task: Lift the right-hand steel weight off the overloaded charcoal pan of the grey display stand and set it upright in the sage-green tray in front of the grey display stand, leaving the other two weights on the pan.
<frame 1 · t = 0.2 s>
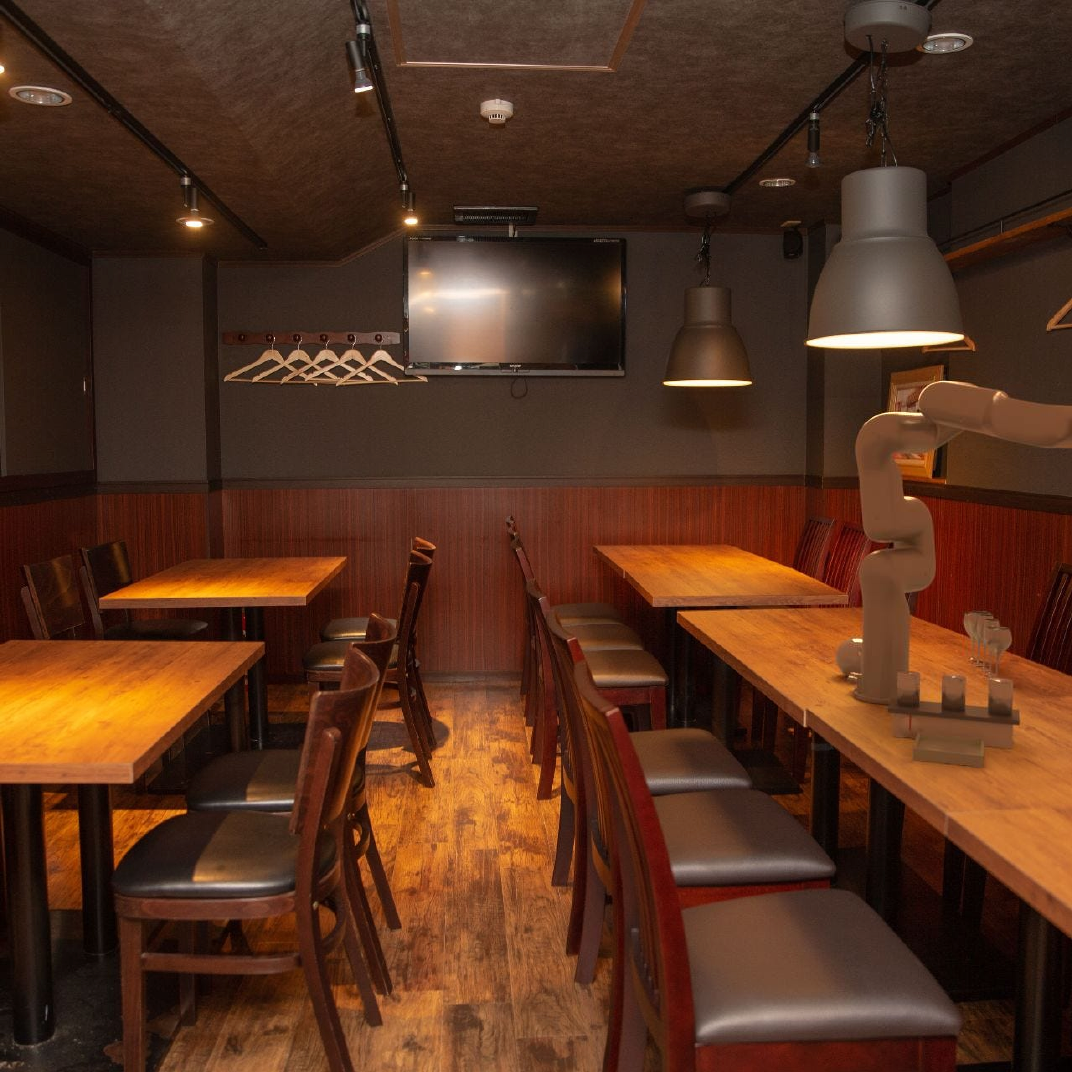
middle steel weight: (953, 709, 192), point 5 cm above the table, touching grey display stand
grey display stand: (952, 737, 193), on the table
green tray: (948, 755, 181), on the table
left steel weight: (907, 704, 195), point 5 cm above the table, touching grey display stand
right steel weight: (999, 713, 189), point 5 cm above the table, touching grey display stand
goblet set: (984, 671, 252), on the table
potion bottle: (868, 678, 244), on the table
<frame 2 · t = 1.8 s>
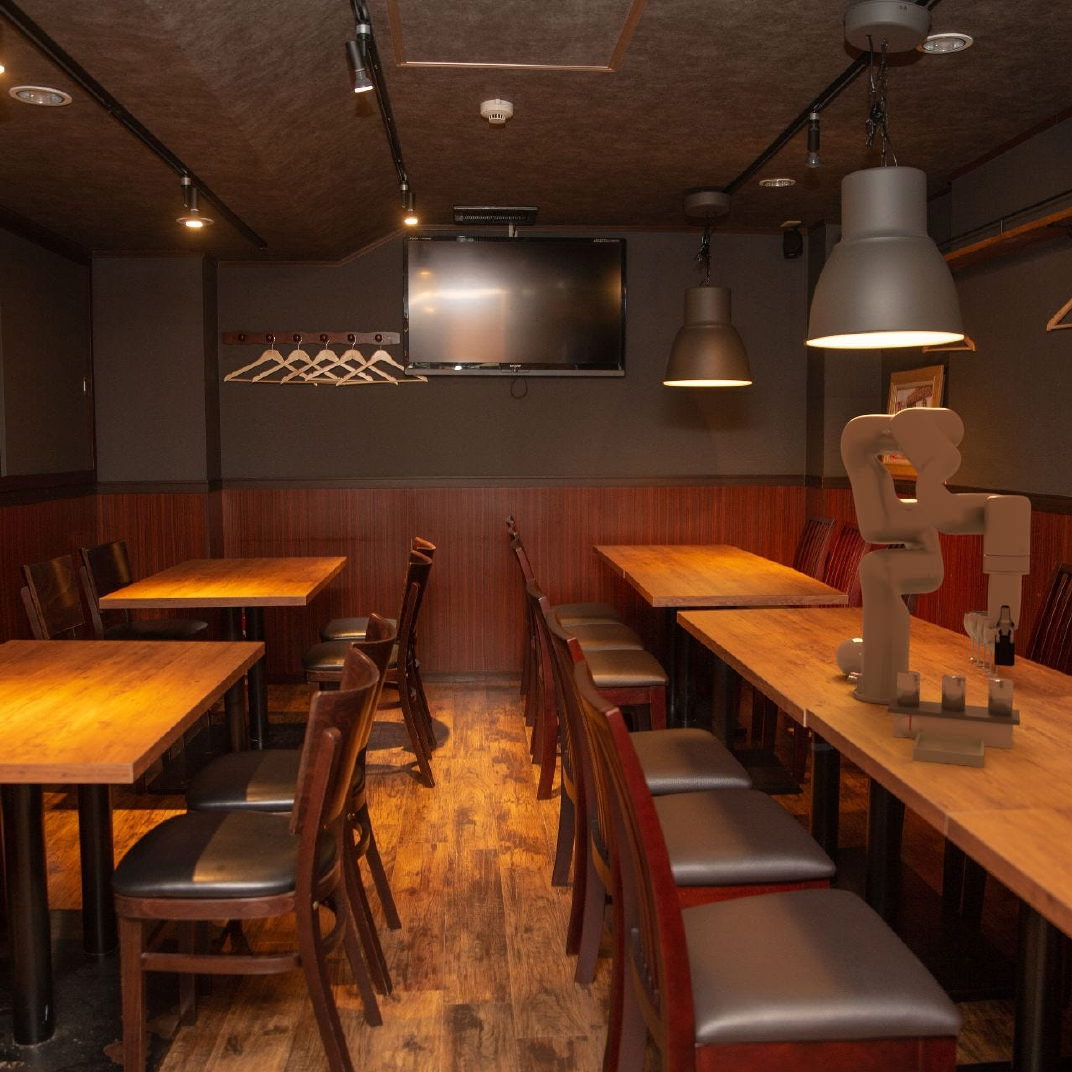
hand: (1004, 660, 188), 15 cm above the table, tool pointing down, fingers open, 9 cm apart
nothing on the table moved.
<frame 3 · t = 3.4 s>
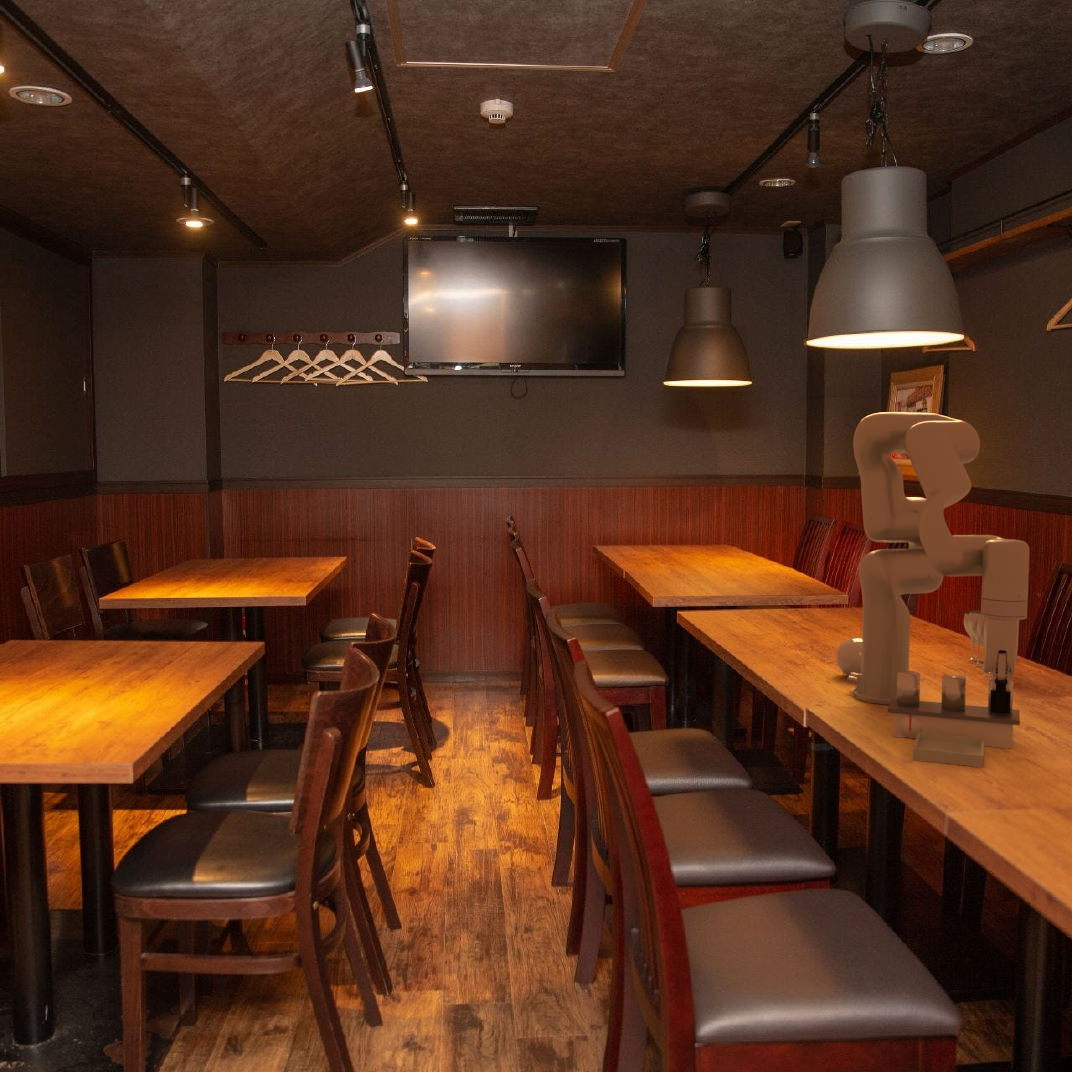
hand: (1000, 709, 189), 6 cm above the table, tool pointing down, fingers closed on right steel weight, 4 cm apart
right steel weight: (999, 713, 189), point 5 cm above the table, touching gripper, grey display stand
everything else where it was.
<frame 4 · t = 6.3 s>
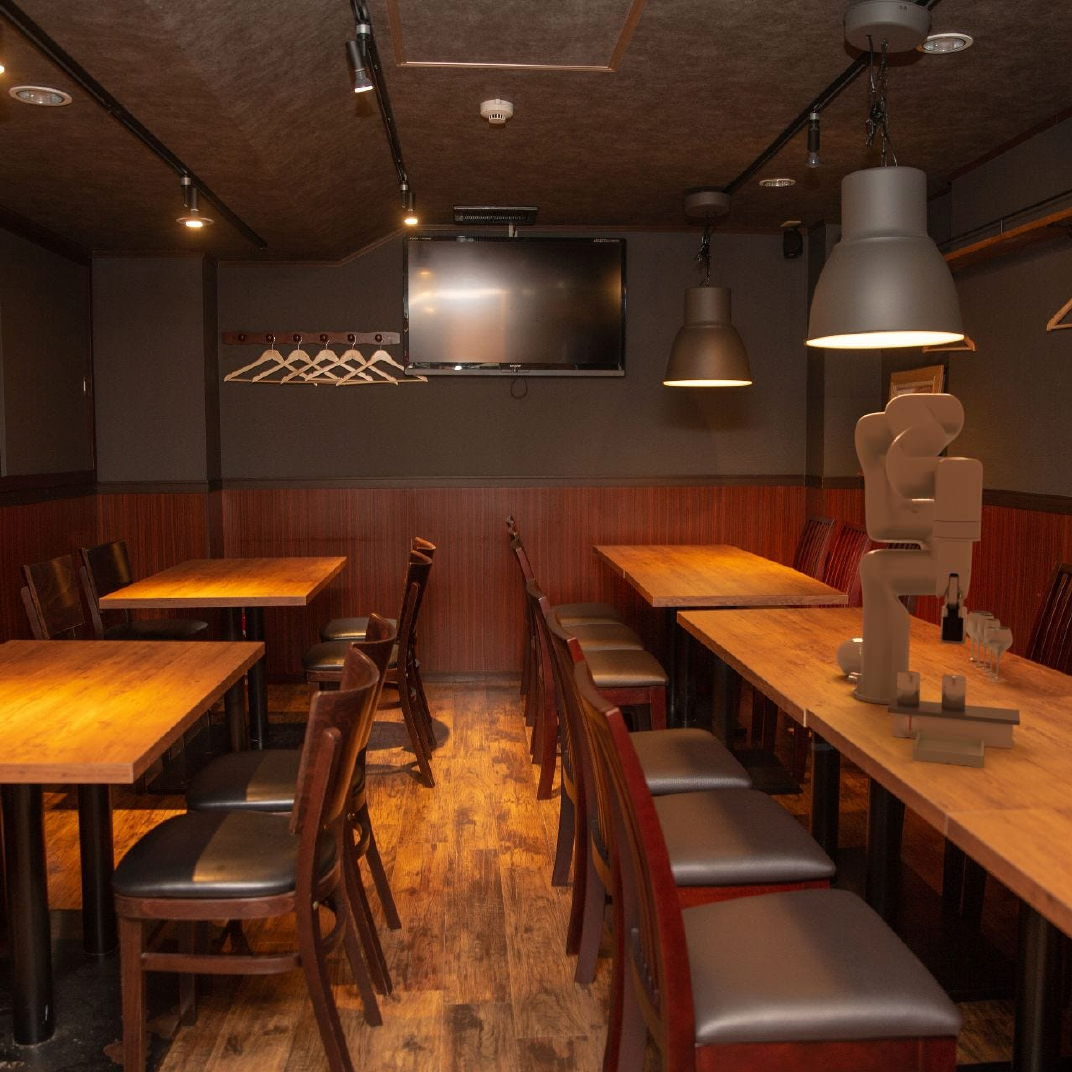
hand: (953, 637, 180), 21 cm above the table, tool pointing down, fingers closed on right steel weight, 4 cm apart
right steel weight: (953, 642, 180), point 20 cm above the table, touching gripper
everything else where it was.
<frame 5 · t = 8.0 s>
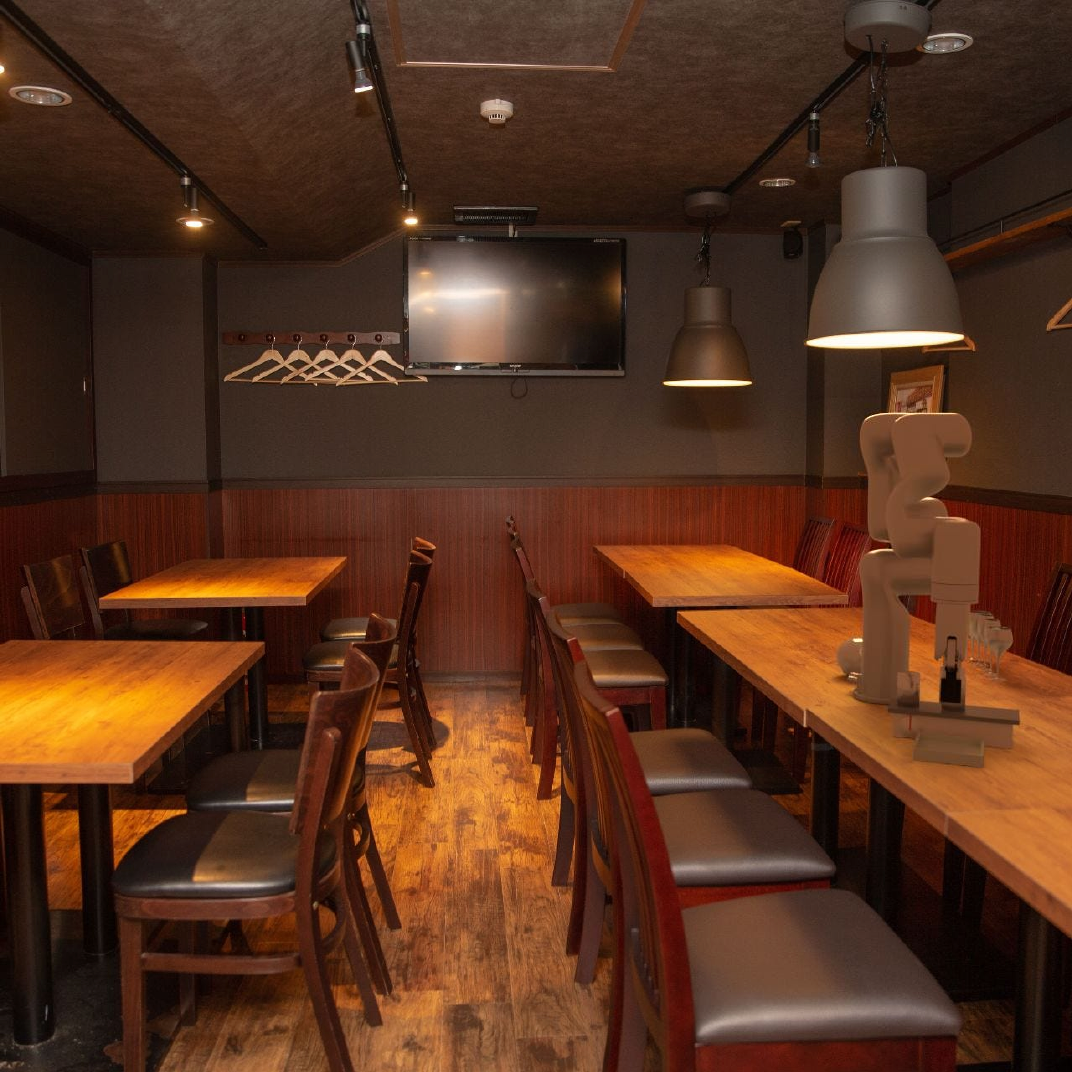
hand: (951, 698, 180), 10 cm above the table, tool pointing down, fingers closed on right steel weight, 4 cm apart
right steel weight: (951, 703, 181), point 9 cm above the table, touching gripper
everything else where it was.
when the fingers open (3 cm above the table, at t = 9.7 s): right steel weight drops 1 cm, resting on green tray.
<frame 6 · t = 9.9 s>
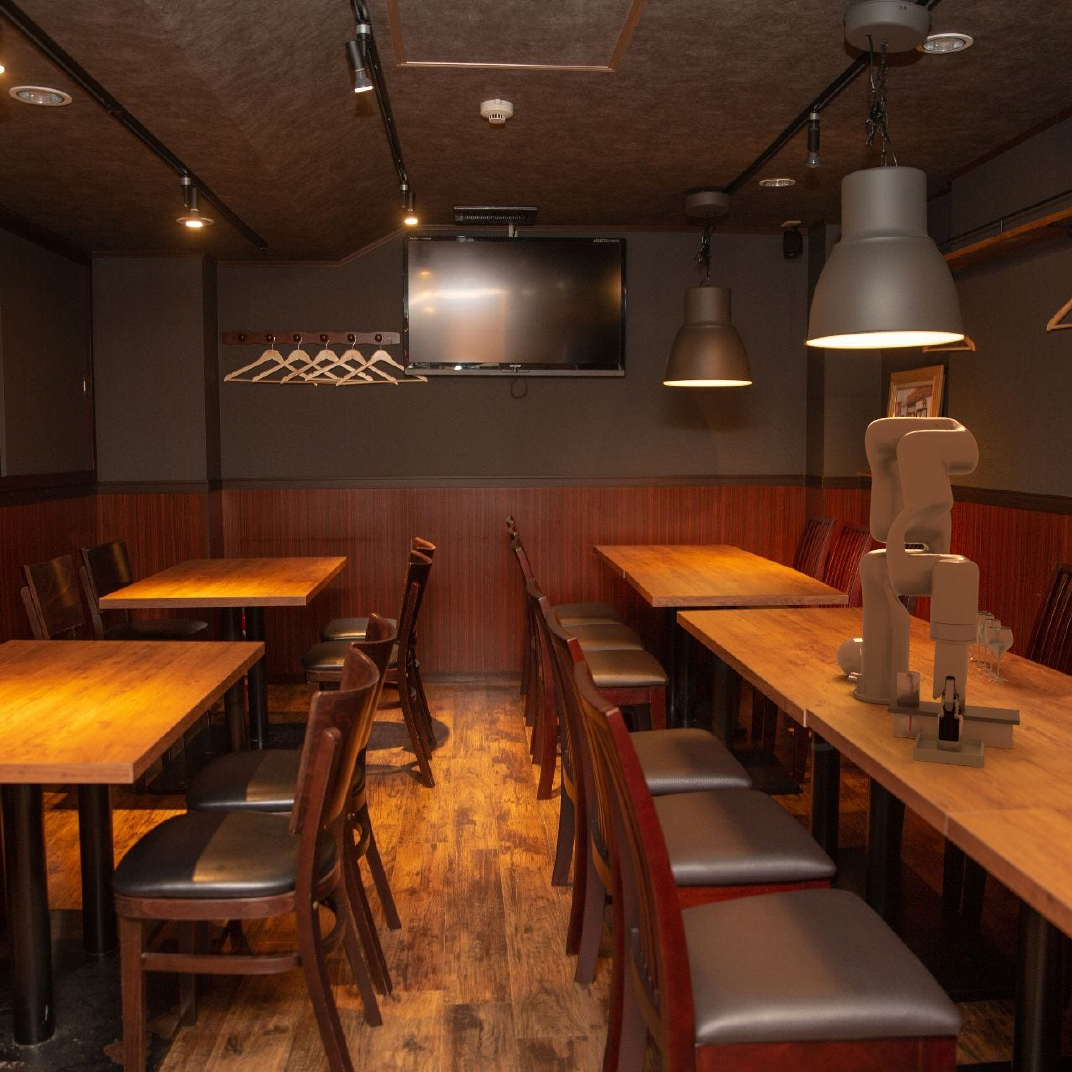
hand: (949, 734, 181), 4 cm above the table, tool pointing down, fingers open, 6 cm apart
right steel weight: (949, 749, 181), point 1 cm above the table, touching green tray
everything else where it was.
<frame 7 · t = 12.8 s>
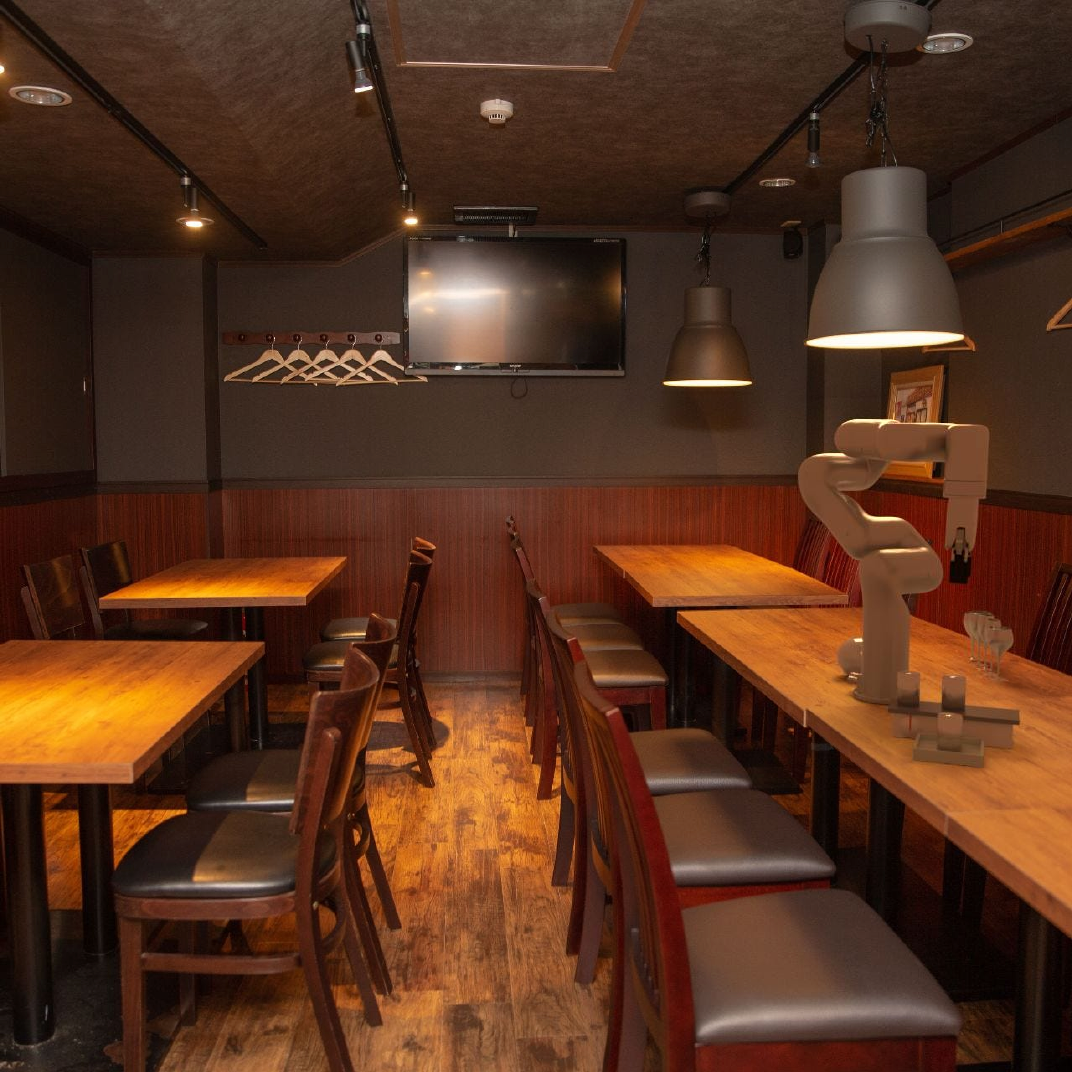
hand: (959, 579, 201), 28 cm above the table, tool pointing down, fingers open, 9 cm apart
nothing on the table moved.
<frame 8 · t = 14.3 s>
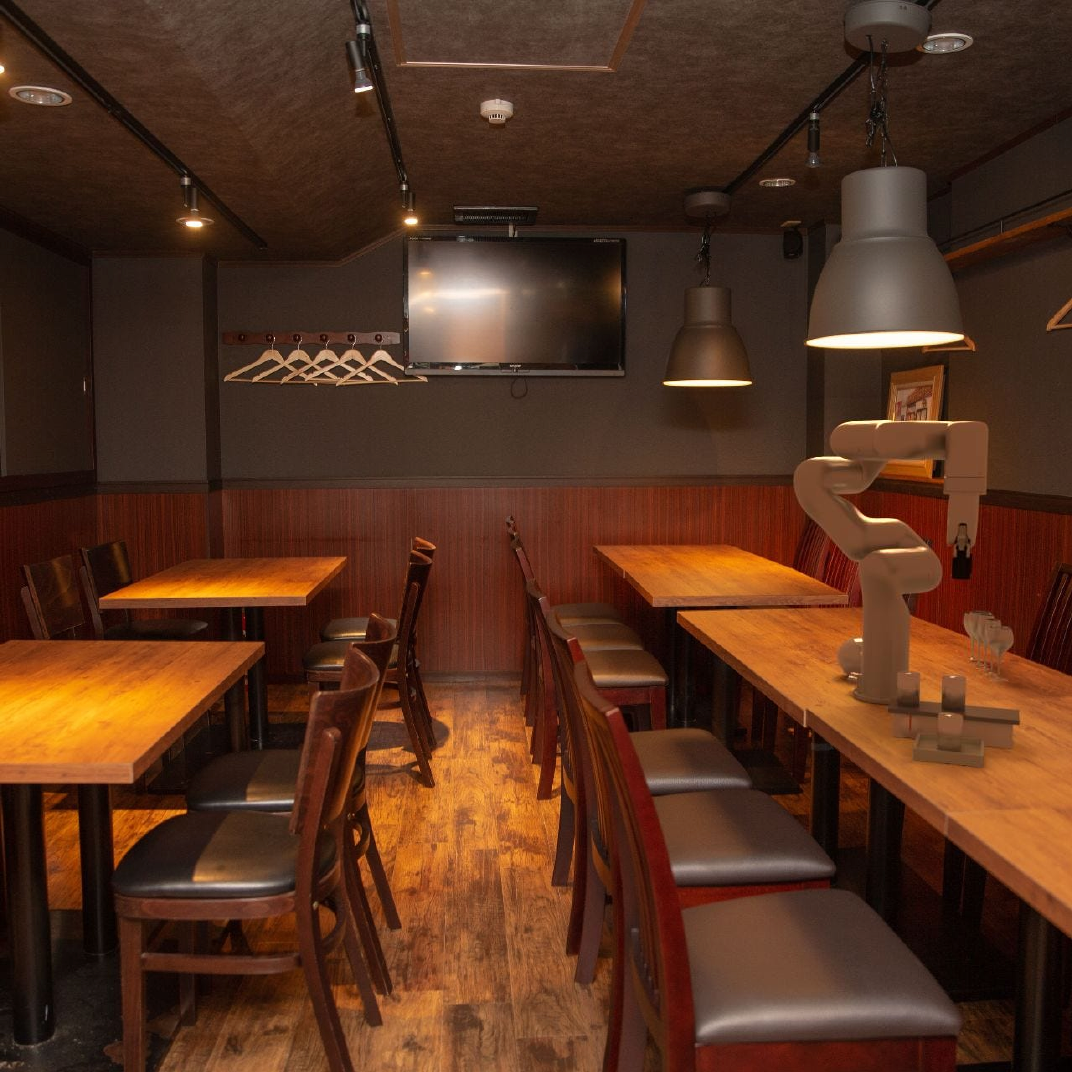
hand: (961, 576, 202), 28 cm above the table, tool pointing down, fingers open, 9 cm apart
nothing on the table moved.
at the end: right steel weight inside the target area on the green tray (0.1 cm from its centre), point 1.0 cm above the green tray's base; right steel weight tilted 0°; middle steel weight moved 0.0 cm from its start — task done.
